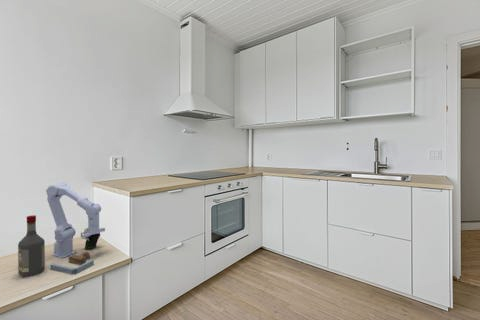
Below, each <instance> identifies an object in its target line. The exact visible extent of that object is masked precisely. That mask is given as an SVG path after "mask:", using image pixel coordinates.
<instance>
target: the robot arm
mask: <svg viewBox="0 0 480 320" xmlns="http://www.w3.org/2000/svg"><path fill="white" fill-rule="evenodd" d="M45 192H46V195H47V196H46V197H47V198H46V199H47V202H48V206H49V208H50V212H51V215H52V217H53V219H54V223H55V226H56V228H55V229H54V240H55V242H54V245H53V254H52V256H53V257H58V258H66V257H70V256H72V255H75V254H76V253H77V251H75V250H73V248H74V247H73V245H74V244H73V242H74V241H73V240H74V236H75V235H76V229H75V228H74V227H73V225H72V224H70V223H68V220H67V217H66V213H65V212H64V209H63V206H62V203H61V198H62V197H63V196H67V198H70V199H71V200H73V201H75V202H76V205H77V206H78V207H80V208H81V209H83V210H84V211H85V213H86V215H87V220H88V223H87V228H88V232H87V233H85V234H83V235H82V237H81V239H82V240H85V238H87V237H88V239H89V240H90V242H91V245H92V246H93V247H95V246H96V247H97V244H98V241H99V238H100V237H101V233H102V232H105V231H106V228H105V227H101V228H100V213H101V211H102V206H101V205H100V204H98V203H94V202H93V201H91V200H89V198H88V197H81V196H80V195H79V194H78V193H77V192H75V191H74V189H72V188H71V186H70V185H68V184H67V183H66V182H65V183H64V182H62V183H59V184H58V183H57V184H51V185H49V186H48V187H47V188H46V189H45ZM99 233H100V234H99ZM96 247H95V248H96Z"/></svg>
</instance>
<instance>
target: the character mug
mask: <svg viewBox="0 0 480 320" xmlns="http://www.w3.org/2000/svg"><path fill="white" fill-rule="evenodd" d="M87 232H88V227H86V228H84V230H83V231H82V232H80V237H81V238H82V235H84V234H85V233H87ZM99 234H100V235H101V232H100V233H99ZM84 240H85V243H84V244H85V245H84V249H85V250H89V249H90V250H92V249H95V248H96V247H97V245H96V246H95V247H93V246H92V245H91V242H90V240H89V239H88V237H87V238H85V239H84Z"/></svg>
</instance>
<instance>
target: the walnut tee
mask: <svg viewBox="0 0 480 320" xmlns="http://www.w3.org/2000/svg"><path fill="white" fill-rule="evenodd" d="M90 254H91V253H90V252H89V251H85V252H82V253H80V254H71V255H69V256H68V263H69V264H72V265H78V266H80V265H82V264H84V263H86V262H87V260H90V259H91V257H90V256H91V255H90Z"/></svg>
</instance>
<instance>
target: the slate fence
mask: <svg viewBox="0 0 480 320" xmlns="http://www.w3.org/2000/svg"><path fill="white" fill-rule="evenodd" d="M94 260H95V259H91V260H90V259H89V261H86V263H84V264H82V265H78V266H76V267H71V266H67V265H62V264H59V263H51V264H50V265H49V269H50V270H53V271H57V272H61V273H65V274H70V275H73V274H74V275H76V274H78V273H80V272H82V271H84V270H86V269H88V268H89V267H92V266H94V264H95V261H94Z"/></svg>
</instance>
